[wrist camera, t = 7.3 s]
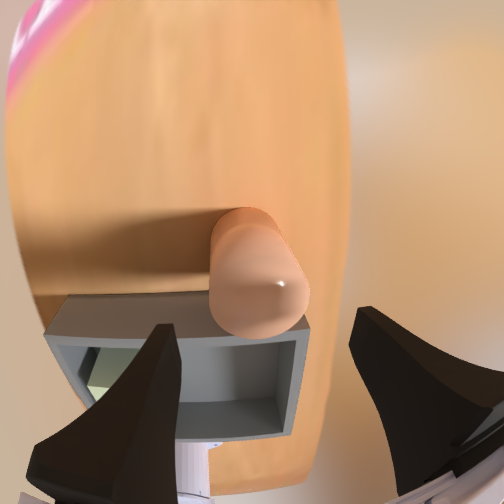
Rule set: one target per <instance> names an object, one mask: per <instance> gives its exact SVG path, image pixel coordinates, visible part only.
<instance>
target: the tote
mask: <svg viewBox="0 0 504 504" xmlns="http://www.w3.org/2000/svg"><path fill="white" fill-rule="evenodd" d="M168 323H173V325H174V329H175V334H176V338H177V343H178V347H179V351H180V356H181V360H182V381H181V391H180V399H179V407H178V415H177V423H176V432H175V442H184V443H200V442H229V441H243V440H254V439H264V438H272V437H280V436H287V435H291V432H292V428H293V423H294V418H295V413H296V408H297V403H298V398H299V393H300V388H301V383H302V377H303V371H304V366H305V360H306V354H307V348H308V341H309V335H310V327H309V324H308V322H307V319H306V317H305V315H304V314H303V316H302V317H301V318H300V320H299V321H298V322H297V323H296V324H295V325H294V326H292V327H291V328H290V329H288V330H286V331H285V332H283V333H281V334H279V335H276V336H273V337H269V338H265V339H245V338H241V337H237V336H234V335H232V334H230V333H228V332H226V331H225V330H224V329H222V328H221V327H220V326H219V325H218V324H217V322H216V321H215V320H214V318H213V316H212V314H211V311H210V306H209V291H194V292H171V293H144V294H103V295H68V297H67V298H66V300H65V301H64V303H63V304H62V306H61V307H60V309H59V310H58V312H57V313H56V315H55V316H54V318H53V320H52V321H51V323H50V324H49V326H48V328H47V329H46V331H45V332H44V334H43V335H44V337H45V339H46V341H47V343H48V345H49V347H50V349H51V351H52V353H53V354H54V356H55V358H56V360H57V362H58V364H59V365H60V367H61V369H62V371H63V372H64V374H65V376H66V377H67V379H68V381H69V382H70V384H71V385H72V387H73V389H74V390H75V392H76V393H77V395H78V396H79V398H80V399H81V401H82V402H83V404H84V405H85V407H86V408H87V410H88V409H89V408H90V407H91V406H92V405H93V404H94V403H95V402H96V400H95V398H94V396H93V395H92V393H91V392H90V390H89V388H88V387H87V384H88V381H89V379H90V376H91V373H92V370H93V367H94V365H95V362H96V359H97V357H98V354H99V352H100V349H101V347H105V348H141V347H142V346H143V344H144V343H145V341H146V340H147V338H148V337H149V335H150V334H151V332H152V331H153V329H154V327H155V326H156V325H157V324H168Z"/></svg>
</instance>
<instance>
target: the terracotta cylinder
mask: <svg viewBox="0 0 504 504" xmlns="http://www.w3.org/2000/svg"><path fill="white" fill-rule="evenodd" d="M309 298H310V289H309V284H308V281H307V279H306V277H305V275H304V273H303V271H302V269H301V267H300V266H299V264H298V262H297V260H296V258H295V256H294V255H293V253H292V251H291V249H290V247H289V246H288V244H287V242H286V240H285V238H284V237H283V235H282V233H281V231H280V229H279V228H278V226H277V224H276V222H275V221H274V220H273V218H272V217H271V216H270V215H268V214H267V213H266V212H264V211H262V210H259V209H256V208H251V207H243V208H237V209H234V210H231V211H230V212H228V213H226V214H225V215H223V216H222V217H221V218H220V219H219V220H218V222H217V223H216V225H215V226H214V228H213V231H212V235H211V251H210V282H209V306H210V311H211V314H212V316H213V318H214V320H215V321H216V322H217V324H218V325H219V326H220V327H221V328H222V329H224V330H225V331H226V332H228V333H230V334H232V335H234V336H237V337H241V338H245V339H265V338H269V337H273V336H276V335H279V334H281V333H283V332H285V331H286V330H288V329H290V328H291V327H292V326H294V325H295V324H296V323H297V322H298V321H299V320H300V318H301V317H302V316H303V314H304V313H305V311H306V309H307V306H308V303H309Z"/></svg>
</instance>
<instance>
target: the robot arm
mask: <svg viewBox="0 0 504 504" xmlns="http://www.w3.org/2000/svg"><path fill="white" fill-rule="evenodd" d="M349 348H350V351H351V354H352V357H353V360H354V362H355V365H356V367H357V369H358V371H359V373H360V375H361V377H362V379H363V381H364V383H365V385H366V387H367V389H368V391H369V393H370V395H371V397H372V399H373V401H374V403H375V405H376V408H377V410H378V412H379V414H380V418H381V421H382V424H383V427H384V430H385V433H386V436H387V440H388V444H389V447H390V452H391V456H392V461H393V465H394V471H395V478H396V485H397V493H398V495H399V497H398V498H396V499H393V500H391V501H389V502H386V503H384V504H422V503H424V502H425V503H424V504H501V503H502V502H503V501H504V372H501V371H496V370H491V369H488V368H484V367H481V366H478V365H475V364H472V363H468V362H466V361H464V360H461V359H459V358H456V357H454V356H452V355H449V354H448V353H446V352H443V351H442V350H439V349H438V348H436V347H434V346H432V345H430V344H429V343H427V342H425V341H424V340H422V339H420V338H419V337H417V336H416V335H414V334H412V333H411V332H409V331H408V330H406V329H405V328H403V327H402V326H400V325H399V324H397V323H396V322H395V321H393V320H392V319H390V318H389V317H387V316H386V315H384V314H383V313H381V312H380V311H378V310H377V309H375V308H373V307H372V306H366V307H359V308H358V309H357V313H356V317H355V321H354V326H353V330H352V333H351V337H350V341H349ZM181 381H182V360H181V356H180V351H179V347H178V343H177V338H176V334H175V329H174V325H173V323H168V324H157V325H156V326H155V327H154V329H153V331H152V332H151V334H150V335H149V337H148V338H147V340H146V341H145V343H144V344H143V346H142V347H141V349H140V350H139V351H138V353H137V354H136V356H135V357H134V358H133V360H132V361H131V363H130V364H129V365H128V367H127V368H126V369H125V370H124V372H123V373H122V374H121V375H120V377H119V378H118V379H117V380H116V381H115V383H114V384H113V385H112V386H111V387H110V388H109V389H108V390H107V391H106V392H105V393H104V394H103V396H102V397H101V398H100V399H99V400H97V401H96V402H95V403H94V404H93V405H92V406H91V407H90V408H89V409H88V410H87V411H85V412H84V413H83V414H82V415H81V416H79V417H78V418H77V419H76V420H74V421H73V422H72V423H70V424H69V425H67V426H66V427H65V428H63V429H62V430H60V431H59V432H57V433H55V434H54V435H52V436H51V437H49V438H47V439H45V440H44V441H42V442H40V443H38V444H36V445H35V446H34V449H33V452H32V455H31V458H30V462H29V466H28V469H27V473H26V478H27V480H28V481H29V482H30V483H31V484H32V485H33V486H35V487H36V488H38V489H39V490H41V491H42V492H44V493H45V494H47V495H49V496H50V497H52V498H54V499H55V504H215V501H214V499H210V485H209V466H208V450H209V449H211V448H214V447H217V446H220V445H222V442H200V443H184V442H175V432H176V423H177V415H178V407H179V399H180V391H181ZM18 504H49V503H47V502H45V501H42V500H39V499H37V498H35V497H33V496H30V495H28V494H26V493H24V492H21V493H20V498H19V503H18Z"/></svg>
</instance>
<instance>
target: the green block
mask: <svg viewBox="0 0 504 504" xmlns="http://www.w3.org/2000/svg"><path fill="white" fill-rule="evenodd" d="M140 349H141V348H105V347H101V349H100V352H99V354H98V357H97V359H96V362H95V365H94V367H93V370H92V373H91V376H90V379H89V381H88V384H87V387H88V388H89V390H90V392H91V393H92V395H93V396H94V398H95V400H96V401H97V400H99V399H100V398H101V397H102V396H103V394H104V393H105V392H106V391H107V390H108V389H109V388H110V387H111V386H112V385H113V384H114V383H115V381H116V380H117V379H118V378H119V377H120V375H121V374H122V373H123V372H124V370H125V369H126V368H127V367H128V365H129V364H130V363H131V361H132V360H133V358H134V357H135V356H136V354H137V353H138V351H139V350H140Z"/></svg>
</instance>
